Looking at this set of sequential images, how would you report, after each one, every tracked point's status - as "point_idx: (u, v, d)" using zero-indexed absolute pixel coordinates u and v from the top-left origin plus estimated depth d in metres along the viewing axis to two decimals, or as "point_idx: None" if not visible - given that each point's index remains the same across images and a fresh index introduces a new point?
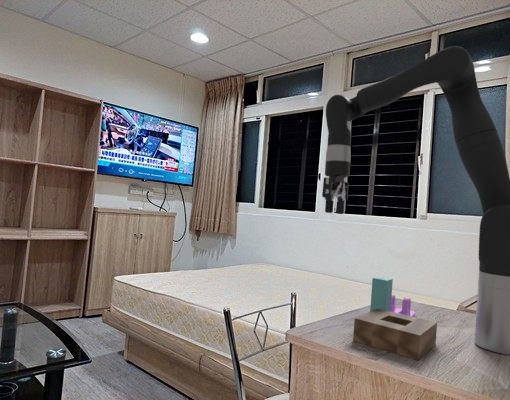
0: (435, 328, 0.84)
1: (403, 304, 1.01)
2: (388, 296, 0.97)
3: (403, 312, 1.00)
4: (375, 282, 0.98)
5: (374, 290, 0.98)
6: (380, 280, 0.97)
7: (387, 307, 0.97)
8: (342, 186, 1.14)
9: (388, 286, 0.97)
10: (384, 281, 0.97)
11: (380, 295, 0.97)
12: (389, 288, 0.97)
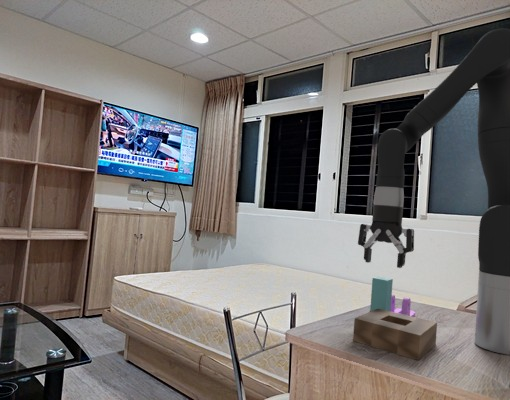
0: (435, 328, 0.84)
1: (403, 304, 1.01)
2: (388, 296, 0.97)
3: (403, 312, 1.00)
4: (375, 282, 0.98)
5: (374, 290, 0.98)
6: (380, 280, 0.97)
7: (387, 307, 0.97)
8: None
9: (388, 286, 0.97)
10: (384, 281, 0.97)
11: (380, 295, 0.97)
12: (389, 288, 0.97)
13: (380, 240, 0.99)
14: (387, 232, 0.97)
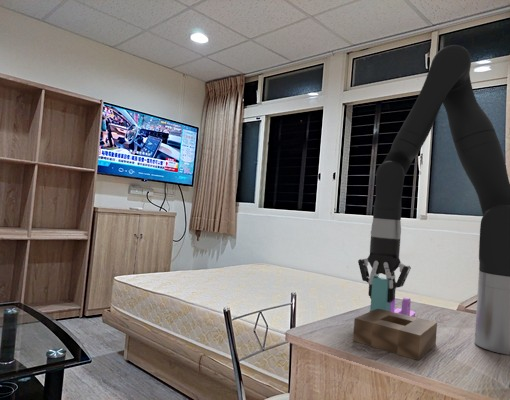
0: (435, 328, 0.84)
1: (403, 304, 1.00)
2: None
3: (403, 312, 1.00)
4: (375, 282, 0.98)
5: (374, 290, 0.98)
6: (380, 280, 0.97)
7: (387, 307, 0.97)
8: None
9: (388, 286, 0.97)
10: (384, 281, 0.97)
11: (380, 295, 0.97)
12: None
13: (378, 272, 0.99)
14: (384, 264, 0.97)
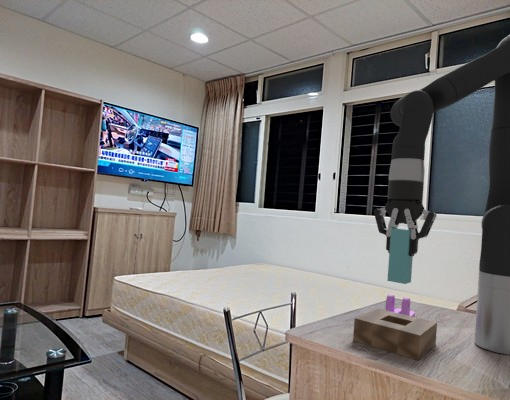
0: (435, 328, 0.84)
1: (402, 304, 1.00)
2: None
3: (402, 312, 1.00)
4: (395, 233, 0.84)
5: (393, 243, 0.84)
6: (400, 230, 0.83)
7: (408, 261, 0.83)
8: None
9: None
10: (405, 231, 0.83)
11: (401, 248, 0.83)
12: None
13: (398, 221, 0.85)
14: (406, 211, 0.83)
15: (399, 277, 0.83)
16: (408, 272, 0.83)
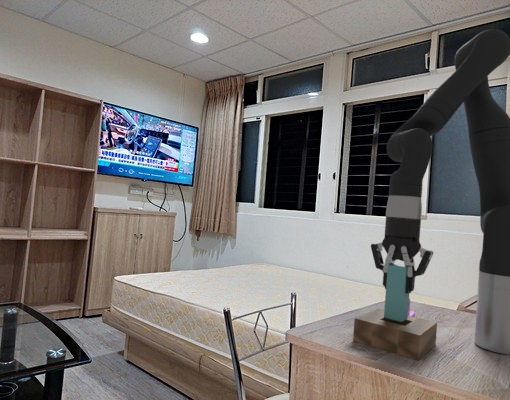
0: (435, 328, 0.84)
1: None
2: None
3: None
4: (392, 269, 0.84)
5: (389, 279, 0.84)
6: (397, 267, 0.83)
7: (405, 299, 0.83)
8: None
9: (406, 274, 0.83)
10: (402, 268, 0.83)
11: (397, 285, 0.83)
12: (407, 276, 0.83)
13: (395, 258, 0.85)
14: (402, 248, 0.83)
15: (396, 314, 0.83)
16: (404, 309, 0.83)
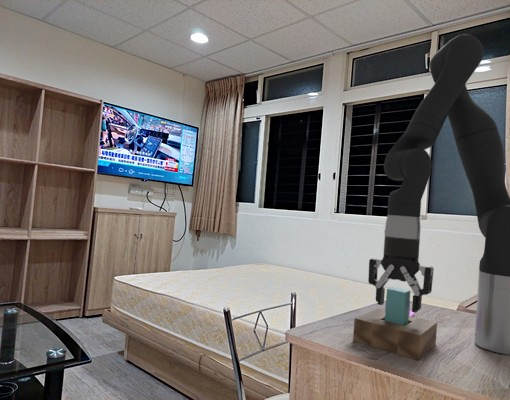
0: (435, 328, 0.84)
1: None
2: (405, 311, 0.83)
3: None
4: (391, 294, 0.84)
5: (389, 304, 0.84)
6: (396, 292, 0.83)
7: (404, 324, 0.83)
8: None
9: (406, 299, 0.83)
10: (401, 293, 0.82)
11: (396, 310, 0.83)
12: (406, 301, 0.83)
13: (394, 277, 0.84)
14: (402, 269, 0.83)
15: None
16: None
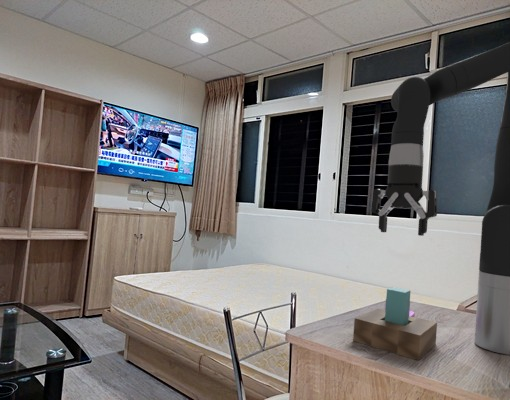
0: (435, 328, 0.84)
1: None
2: (405, 311, 0.83)
3: None
4: (391, 294, 0.84)
5: (389, 304, 0.84)
6: (396, 292, 0.83)
7: (404, 324, 0.83)
8: None
9: (406, 299, 0.83)
10: (401, 293, 0.82)
11: (396, 310, 0.83)
12: (406, 301, 0.83)
13: (398, 205, 0.87)
14: (406, 195, 0.85)
15: None
16: None
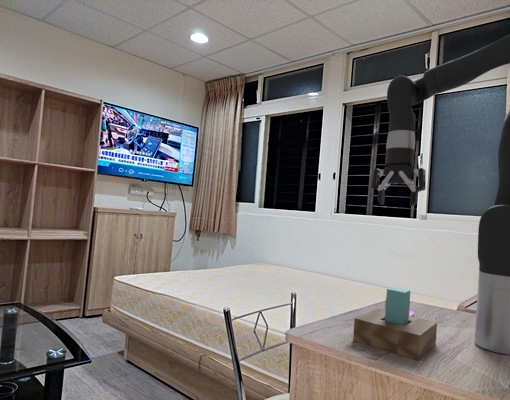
0: (435, 328, 0.84)
1: None
2: (405, 311, 0.83)
3: None
4: (391, 294, 0.84)
5: (389, 304, 0.84)
6: (396, 292, 0.83)
7: (404, 324, 0.83)
8: None
9: (405, 299, 0.83)
10: (401, 293, 0.82)
11: (396, 310, 0.83)
12: (406, 301, 0.83)
13: (393, 181, 1.05)
14: (400, 173, 1.03)
15: None
16: None
